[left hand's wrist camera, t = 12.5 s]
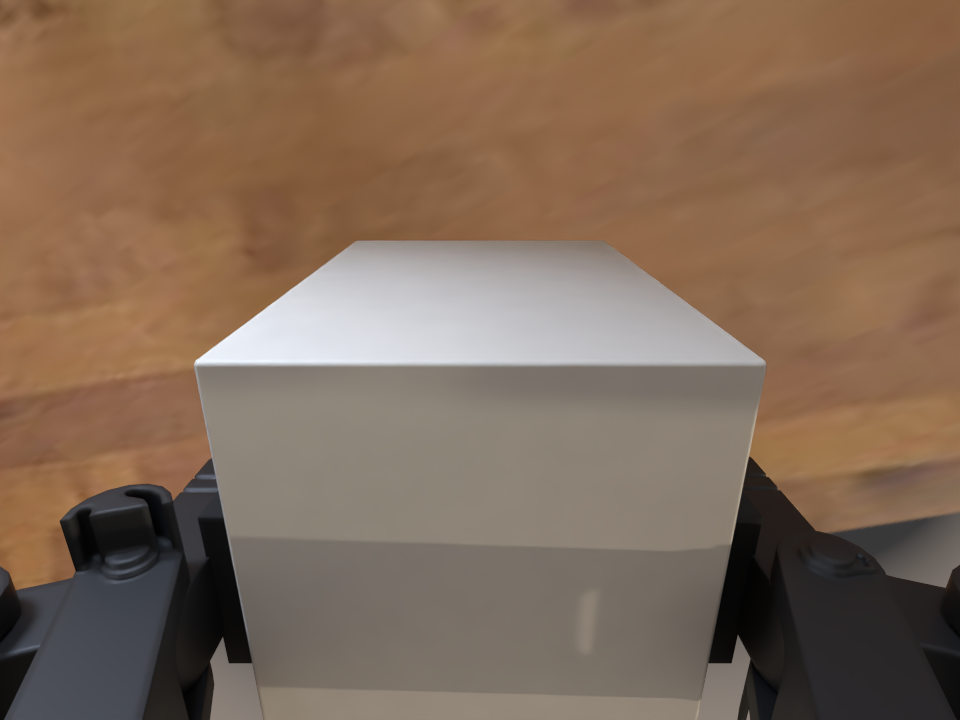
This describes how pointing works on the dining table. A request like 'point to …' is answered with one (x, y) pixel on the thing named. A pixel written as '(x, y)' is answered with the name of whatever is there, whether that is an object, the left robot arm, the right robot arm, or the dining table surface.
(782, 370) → the dining table surface
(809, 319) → the dining table surface
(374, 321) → the block
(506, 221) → the dining table surface
